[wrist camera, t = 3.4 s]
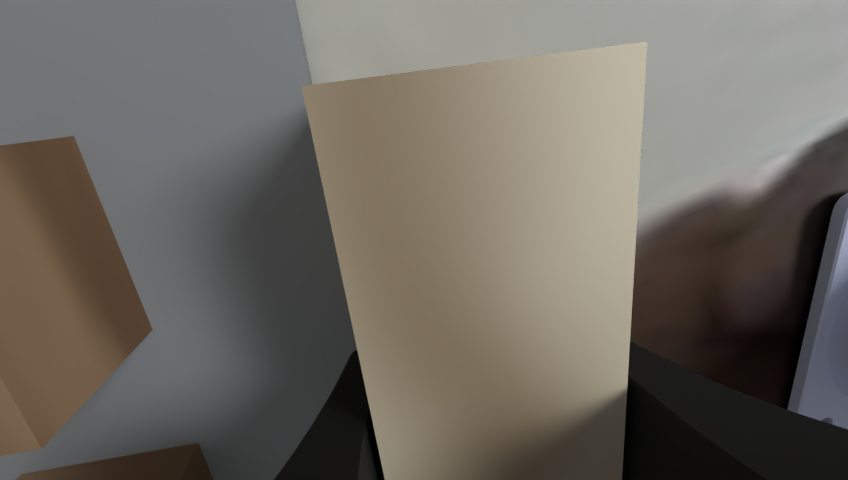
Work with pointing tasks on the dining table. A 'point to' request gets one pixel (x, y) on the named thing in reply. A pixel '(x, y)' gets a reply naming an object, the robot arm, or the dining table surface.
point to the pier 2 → (135, 467)
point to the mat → (191, 220)
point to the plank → (490, 258)
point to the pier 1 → (57, 292)
